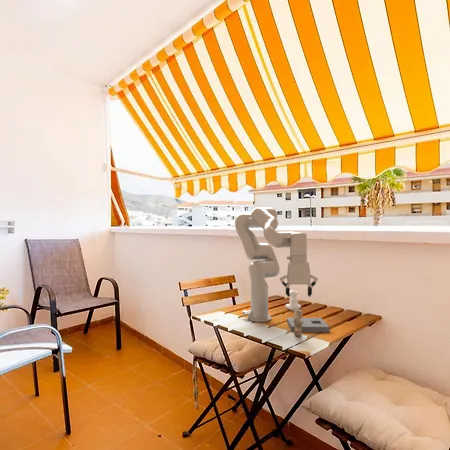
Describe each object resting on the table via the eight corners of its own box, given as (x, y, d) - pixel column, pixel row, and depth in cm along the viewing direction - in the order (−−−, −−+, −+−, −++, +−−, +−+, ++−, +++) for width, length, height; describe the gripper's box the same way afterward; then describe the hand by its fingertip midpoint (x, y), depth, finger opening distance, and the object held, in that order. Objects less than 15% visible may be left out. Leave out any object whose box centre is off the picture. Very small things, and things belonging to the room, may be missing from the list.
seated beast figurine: (301, 307, 197) (301, 288, 197) (302, 311, 188) (302, 291, 188) (285, 307, 198) (285, 287, 198) (286, 311, 190) (286, 290, 190)
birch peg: (295, 337, 147) (295, 311, 147) (293, 334, 150) (293, 309, 150) (302, 337, 147) (302, 311, 147) (301, 334, 150) (301, 309, 150)
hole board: (291, 331, 155) (291, 326, 155) (287, 322, 169) (287, 317, 169) (329, 332, 154) (329, 326, 154) (321, 322, 168) (321, 317, 168)
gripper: (280, 260, 144) (281, 298, 145) (319, 259, 144) (319, 297, 144) (278, 258, 152) (278, 294, 152) (315, 258, 151) (315, 294, 151)
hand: (298, 296), depth 148 cm, fingers open, 9 cm apart
